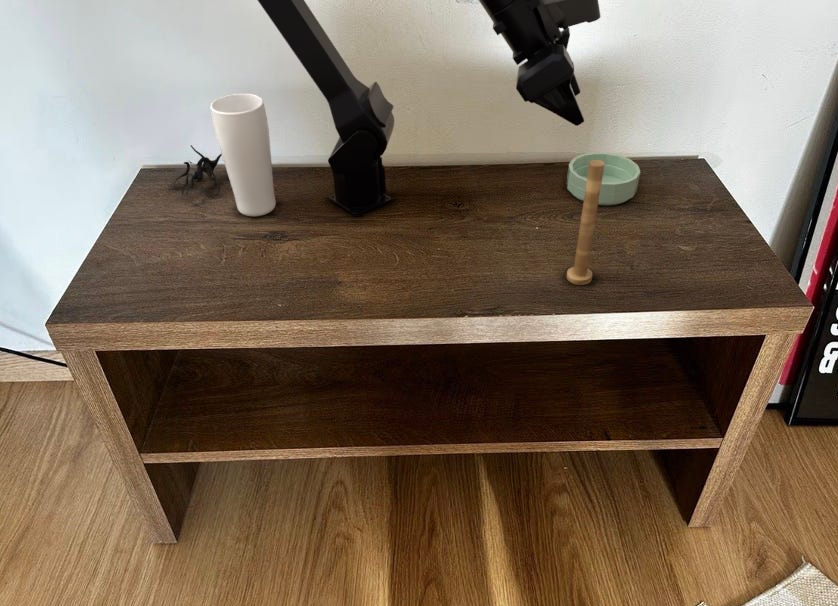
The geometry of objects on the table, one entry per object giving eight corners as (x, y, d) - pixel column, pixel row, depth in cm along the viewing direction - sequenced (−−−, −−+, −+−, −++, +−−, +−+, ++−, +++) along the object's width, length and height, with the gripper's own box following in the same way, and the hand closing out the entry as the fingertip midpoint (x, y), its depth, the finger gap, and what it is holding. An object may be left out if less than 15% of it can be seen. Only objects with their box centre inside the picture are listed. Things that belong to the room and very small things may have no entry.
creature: (211, 209, 100) (240, 174, 104) (198, 179, 96) (228, 144, 100) (166, 199, 102) (196, 166, 107) (151, 170, 98) (183, 136, 102)
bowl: (606, 214, 96) (610, 191, 94) (552, 188, 102) (555, 166, 99) (649, 191, 101) (654, 169, 99) (595, 168, 107) (598, 146, 104)
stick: (580, 288, 83) (599, 171, 73) (561, 277, 85) (577, 162, 75) (596, 278, 84) (617, 163, 75) (577, 268, 86) (595, 154, 76)
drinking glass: (271, 223, 95) (251, 115, 85) (224, 218, 96) (199, 111, 86) (288, 199, 100) (272, 94, 90) (244, 194, 101) (223, 91, 91)
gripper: (574, -28, 69) (648, 100, 76) (568, -66, 83) (630, 44, 91) (482, 41, 74) (559, 154, 82) (490, -6, 88) (555, 94, 96)
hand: (578, 108), depth 87 cm, fingers open, 9 cm apart
